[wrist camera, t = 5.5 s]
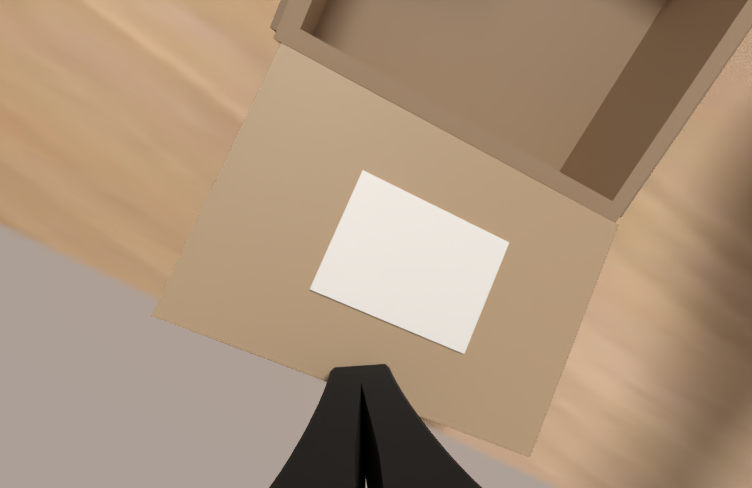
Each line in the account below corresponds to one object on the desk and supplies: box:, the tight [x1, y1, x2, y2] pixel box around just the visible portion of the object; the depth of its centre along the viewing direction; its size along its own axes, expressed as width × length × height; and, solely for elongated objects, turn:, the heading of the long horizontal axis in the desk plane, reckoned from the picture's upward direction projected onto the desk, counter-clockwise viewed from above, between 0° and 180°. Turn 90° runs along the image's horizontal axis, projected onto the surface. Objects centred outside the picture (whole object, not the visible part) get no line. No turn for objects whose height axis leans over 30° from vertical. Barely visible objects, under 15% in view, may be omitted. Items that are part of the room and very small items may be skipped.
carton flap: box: [151, 43, 618, 457], centre depth 12 cm, size 10×7×1 cm
